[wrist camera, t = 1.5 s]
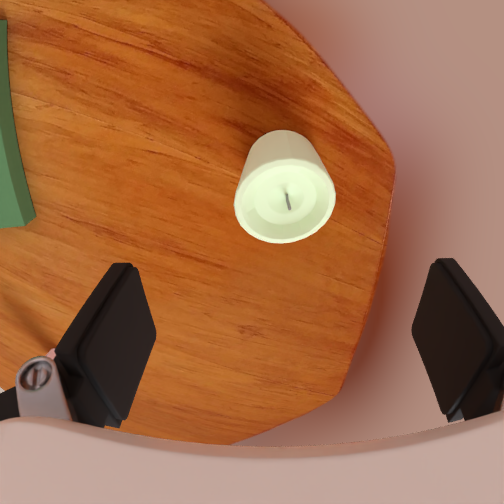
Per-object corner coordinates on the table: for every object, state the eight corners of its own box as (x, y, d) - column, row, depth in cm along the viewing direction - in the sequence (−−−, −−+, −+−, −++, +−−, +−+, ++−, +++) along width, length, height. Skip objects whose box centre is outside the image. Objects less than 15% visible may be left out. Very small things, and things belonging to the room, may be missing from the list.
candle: (332, 168, 22) (360, 217, 14) (278, 209, 23) (280, 273, 16) (286, 114, 20) (294, 135, 13) (232, 160, 22) (211, 205, 15)
